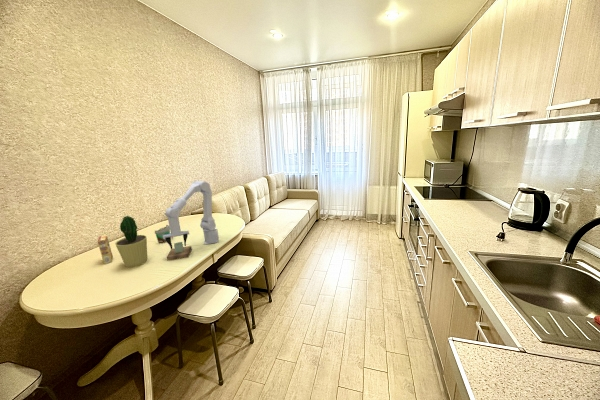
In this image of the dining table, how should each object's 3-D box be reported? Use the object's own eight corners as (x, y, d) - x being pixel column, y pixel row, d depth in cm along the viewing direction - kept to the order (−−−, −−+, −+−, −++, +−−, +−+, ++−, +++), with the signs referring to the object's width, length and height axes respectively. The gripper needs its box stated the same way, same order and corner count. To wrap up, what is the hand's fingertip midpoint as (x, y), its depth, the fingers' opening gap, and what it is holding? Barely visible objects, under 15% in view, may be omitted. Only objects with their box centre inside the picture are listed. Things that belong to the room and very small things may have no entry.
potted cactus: (124, 259, 149) (113, 214, 141) (153, 254, 155) (143, 210, 147) (117, 271, 135) (104, 221, 128) (149, 265, 141) (138, 216, 133)
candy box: (112, 262, 147) (106, 239, 143) (103, 264, 144) (97, 240, 141) (113, 256, 154) (107, 234, 150) (104, 258, 152) (98, 236, 148)
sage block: (183, 248, 155) (182, 241, 154) (183, 251, 151) (182, 244, 150) (175, 250, 153) (174, 243, 152) (175, 253, 149) (174, 245, 148)
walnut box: (191, 250, 160) (191, 245, 159) (188, 258, 148) (187, 253, 148) (172, 252, 157) (171, 248, 156) (167, 261, 145) (166, 257, 145)
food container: (164, 244, 170) (161, 231, 167) (156, 243, 171) (154, 230, 168) (176, 237, 181) (173, 224, 179) (169, 237, 183) (166, 224, 180)
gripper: (187, 222, 154) (190, 242, 158) (161, 227, 148) (166, 247, 152) (187, 225, 148) (191, 246, 151) (161, 230, 142) (165, 251, 145)
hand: (178, 246), depth 151 cm, fingers open, 7 cm apart
